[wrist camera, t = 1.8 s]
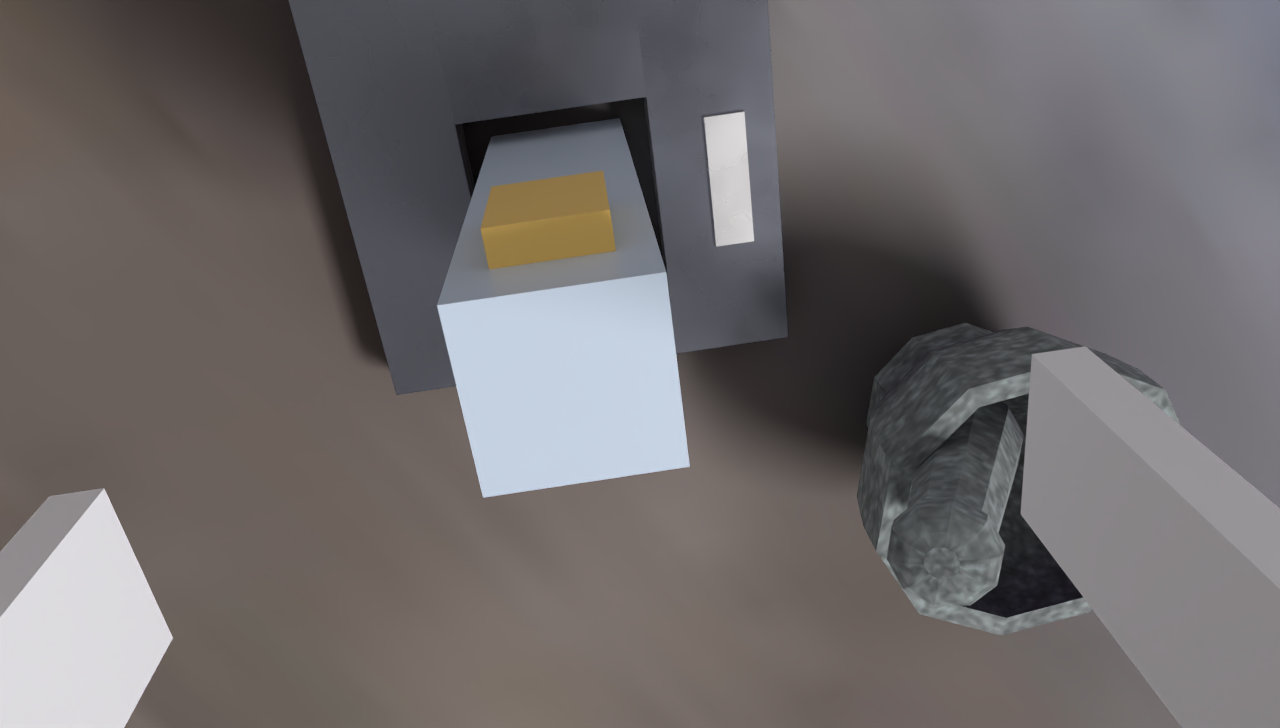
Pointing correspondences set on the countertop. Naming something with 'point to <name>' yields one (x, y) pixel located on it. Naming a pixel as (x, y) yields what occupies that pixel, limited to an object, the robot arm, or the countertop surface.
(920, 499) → the mortar and pestle
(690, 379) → the countertop surface
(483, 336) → the plug
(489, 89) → the port panel
